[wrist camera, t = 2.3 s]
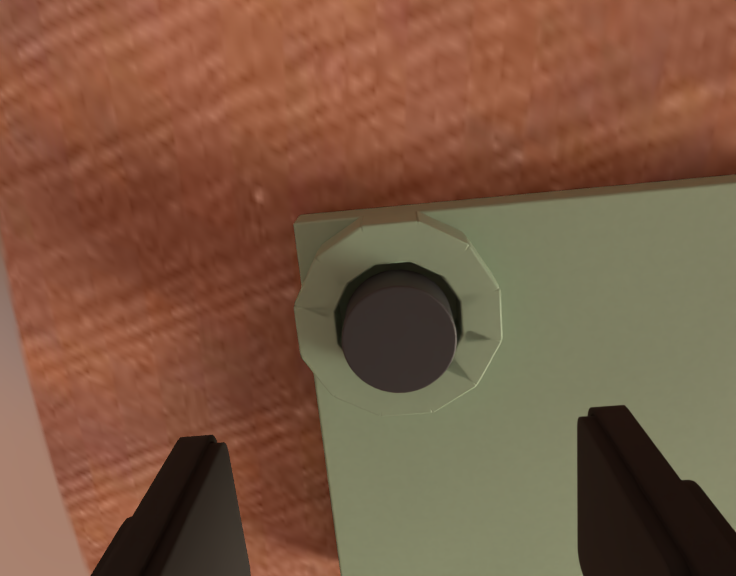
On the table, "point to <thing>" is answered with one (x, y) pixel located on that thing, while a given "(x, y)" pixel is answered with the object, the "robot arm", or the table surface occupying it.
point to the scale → (522, 366)
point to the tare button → (398, 331)
